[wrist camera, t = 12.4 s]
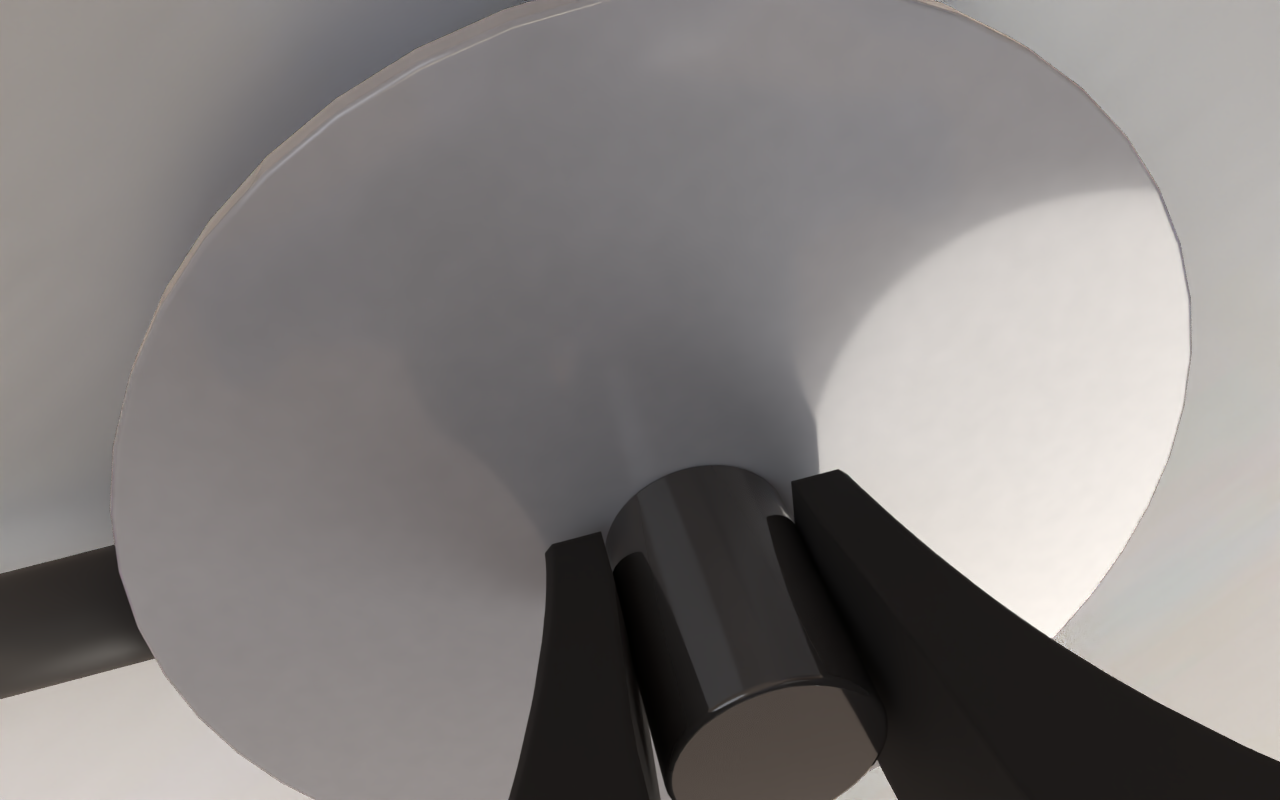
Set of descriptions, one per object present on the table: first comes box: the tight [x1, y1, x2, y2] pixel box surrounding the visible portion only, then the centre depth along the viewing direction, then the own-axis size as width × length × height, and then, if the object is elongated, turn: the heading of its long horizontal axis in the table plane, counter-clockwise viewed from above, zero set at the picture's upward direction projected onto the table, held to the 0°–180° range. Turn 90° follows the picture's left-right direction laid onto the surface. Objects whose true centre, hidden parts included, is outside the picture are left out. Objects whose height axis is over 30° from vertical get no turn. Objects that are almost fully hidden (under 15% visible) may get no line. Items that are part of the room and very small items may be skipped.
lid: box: [110, 0, 1192, 800], centre depth 12 cm, size 14×14×4 cm
